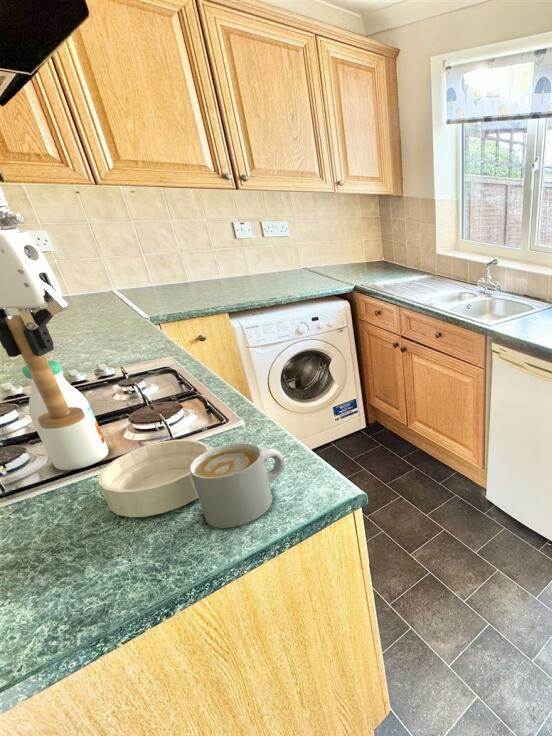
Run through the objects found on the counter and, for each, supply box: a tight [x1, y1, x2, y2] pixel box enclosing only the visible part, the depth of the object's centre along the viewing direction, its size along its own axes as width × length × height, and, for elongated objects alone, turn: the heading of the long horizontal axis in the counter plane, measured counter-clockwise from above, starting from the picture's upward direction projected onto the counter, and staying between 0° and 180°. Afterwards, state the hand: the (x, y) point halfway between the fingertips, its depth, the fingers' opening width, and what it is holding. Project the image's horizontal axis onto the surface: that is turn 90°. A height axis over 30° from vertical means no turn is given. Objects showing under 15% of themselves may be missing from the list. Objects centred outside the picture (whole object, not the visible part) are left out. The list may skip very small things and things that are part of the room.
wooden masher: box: [4, 314, 85, 429], centre depth 63 cm, size 5×5×17 cm
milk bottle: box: [21, 360, 109, 471], centre depth 77 cm, size 8×8×20 cm
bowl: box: [97, 438, 211, 518], centre depth 74 cm, size 15×15×6 cm
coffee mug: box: [190, 442, 285, 529], centre depth 71 cm, size 13×10×10 cm
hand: (32, 352), depth 62 cm, fingers closed on wooden masher
